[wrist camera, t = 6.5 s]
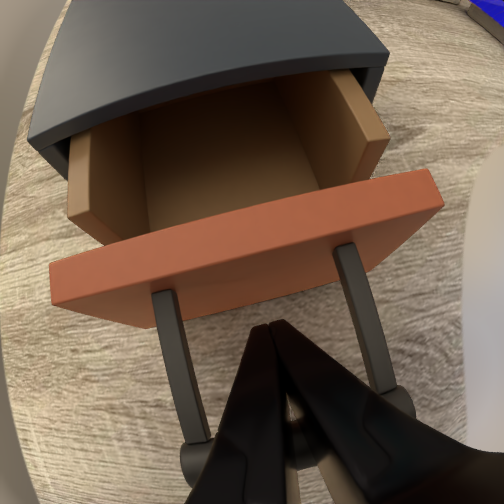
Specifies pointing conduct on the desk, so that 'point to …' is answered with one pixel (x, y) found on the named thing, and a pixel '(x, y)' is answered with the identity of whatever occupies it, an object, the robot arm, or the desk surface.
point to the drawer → (238, 220)
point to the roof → (489, 16)
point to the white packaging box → (453, 1)
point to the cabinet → (186, 57)
